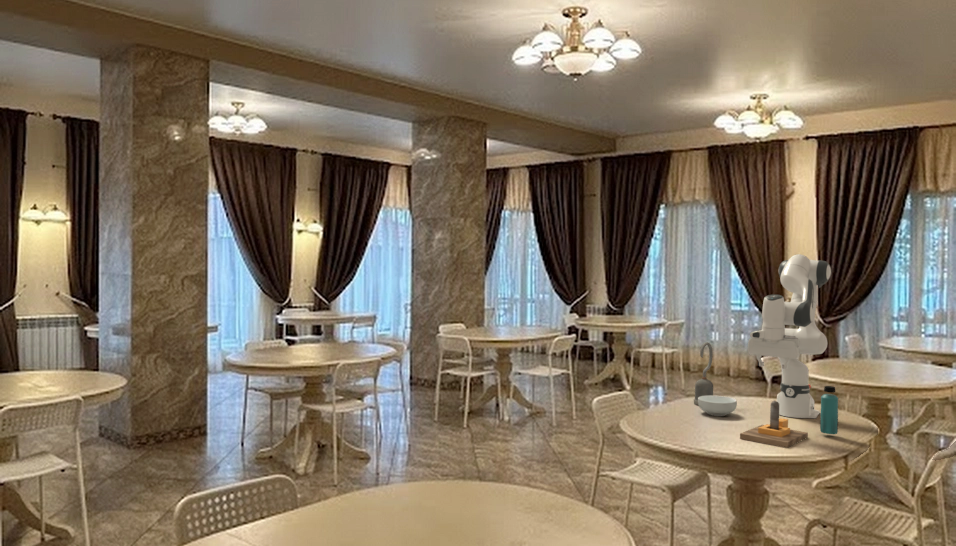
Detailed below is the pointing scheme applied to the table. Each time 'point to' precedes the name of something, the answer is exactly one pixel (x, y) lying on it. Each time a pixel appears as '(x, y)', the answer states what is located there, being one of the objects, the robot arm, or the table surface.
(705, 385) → the hook
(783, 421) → the loop fitting
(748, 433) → the keeper board
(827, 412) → the beverage bottle
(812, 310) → the robot arm
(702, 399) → the cereal bowl
